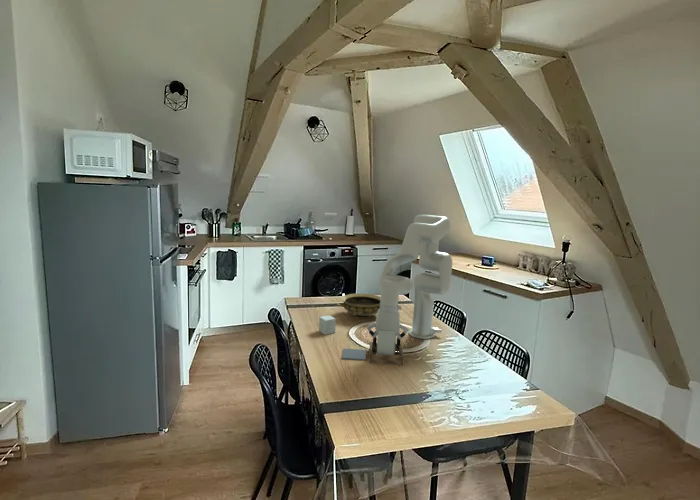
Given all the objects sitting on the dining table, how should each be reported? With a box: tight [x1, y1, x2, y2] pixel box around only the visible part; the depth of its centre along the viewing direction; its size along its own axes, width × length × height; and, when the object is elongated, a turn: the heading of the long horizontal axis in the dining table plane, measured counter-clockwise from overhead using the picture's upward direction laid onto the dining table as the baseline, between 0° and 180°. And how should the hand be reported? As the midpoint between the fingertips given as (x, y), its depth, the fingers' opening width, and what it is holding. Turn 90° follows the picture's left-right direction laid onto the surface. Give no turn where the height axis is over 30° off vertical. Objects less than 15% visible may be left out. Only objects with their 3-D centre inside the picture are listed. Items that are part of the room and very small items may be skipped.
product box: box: [318, 315, 337, 336], centre depth 207 cm, size 6×6×7 cm
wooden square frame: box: [368, 341, 405, 366], centre depth 180 cm, size 14×14×4 cm
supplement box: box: [376, 331, 397, 356], centre depth 179 cm, size 7×7×13 cm
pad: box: [341, 348, 367, 362], centre depth 181 cm, size 10×10×1 cm
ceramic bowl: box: [336, 292, 381, 319], centre depth 233 cm, size 30×24×10 cm
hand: (386, 346), depth 180 cm, fingers open, 9 cm apart
